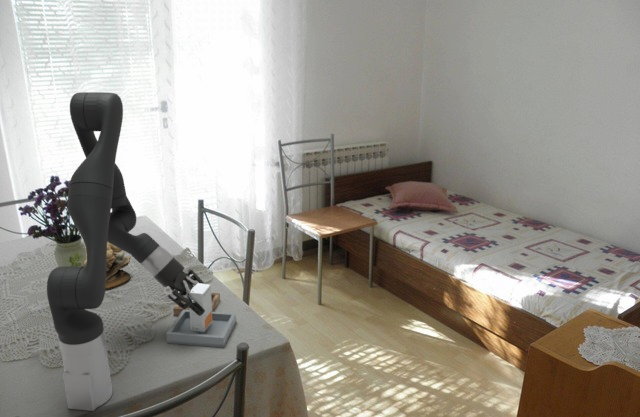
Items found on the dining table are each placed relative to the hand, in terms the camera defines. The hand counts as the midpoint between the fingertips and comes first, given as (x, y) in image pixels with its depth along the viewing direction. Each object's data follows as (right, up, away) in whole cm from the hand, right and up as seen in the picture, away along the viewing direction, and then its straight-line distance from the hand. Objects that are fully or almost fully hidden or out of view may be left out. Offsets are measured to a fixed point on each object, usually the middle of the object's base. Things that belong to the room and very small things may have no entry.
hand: (206, 307), depth 146 cm
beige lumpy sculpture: (-41, +2, +31) cm, 51 cm away
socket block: (-6, -3, +16) cm, 17 cm away
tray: (-2, -8, +3) cm, 8 cm away
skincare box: (-2, -6, +2) cm, 7 cm away
